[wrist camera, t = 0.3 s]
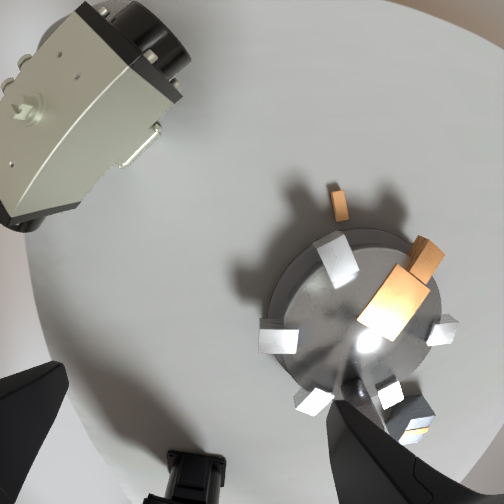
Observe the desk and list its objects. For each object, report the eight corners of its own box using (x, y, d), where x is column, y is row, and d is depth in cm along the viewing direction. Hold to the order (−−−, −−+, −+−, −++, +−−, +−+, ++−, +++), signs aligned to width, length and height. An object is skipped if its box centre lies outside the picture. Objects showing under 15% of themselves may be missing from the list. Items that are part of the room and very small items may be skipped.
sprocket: (411, 391, 22) (441, 441, 16) (248, 392, 22) (246, 459, 15) (461, 240, 19) (521, 266, 12) (271, 212, 19) (280, 234, 12)
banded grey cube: (407, 420, 25) (419, 442, 22) (385, 424, 25) (395, 447, 22) (421, 394, 24) (436, 415, 21) (398, 396, 24) (411, 420, 21)
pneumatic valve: (215, 100, 18) (167, 13, 6) (99, 213, 20) (-21, 255, 8) (167, 51, 17) (93, -42, 5) (60, 162, 19) (-60, 169, 7)
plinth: (401, 381, 24) (405, 387, 23) (257, 380, 23) (257, 388, 22) (450, 211, 20) (457, 213, 19) (285, 181, 19) (286, 182, 18)
